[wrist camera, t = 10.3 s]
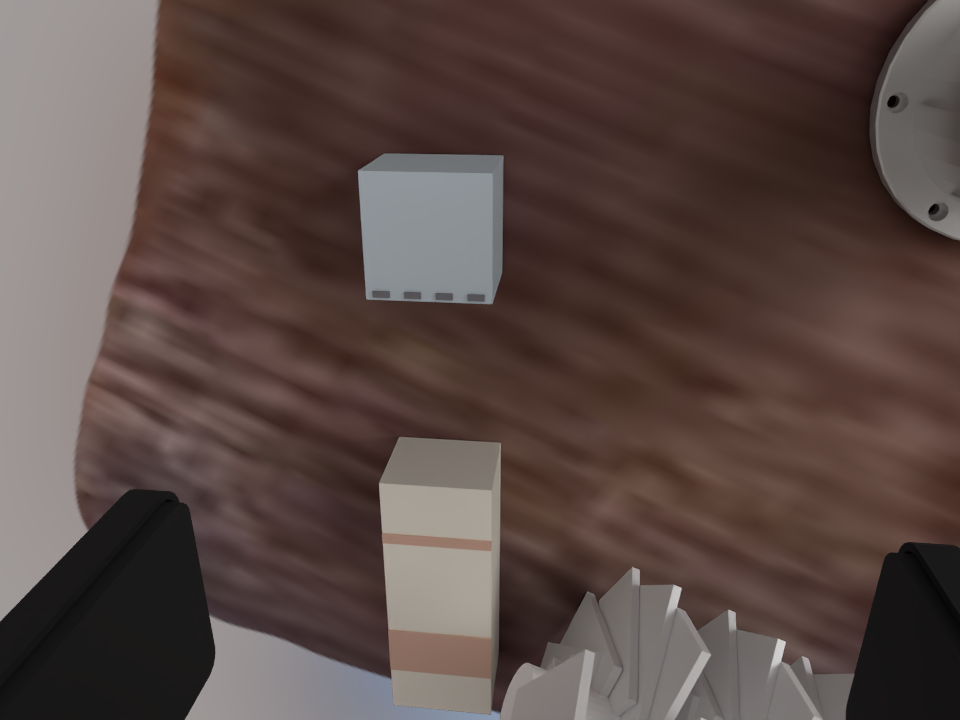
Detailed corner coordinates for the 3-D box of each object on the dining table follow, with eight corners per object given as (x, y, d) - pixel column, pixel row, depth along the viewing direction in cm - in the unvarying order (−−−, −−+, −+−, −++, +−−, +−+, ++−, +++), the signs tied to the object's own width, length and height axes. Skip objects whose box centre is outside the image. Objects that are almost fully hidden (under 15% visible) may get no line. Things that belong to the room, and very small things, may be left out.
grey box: (503, 155, 38) (492, 173, 33) (502, 272, 40) (492, 304, 35) (384, 153, 38) (357, 171, 34) (390, 268, 41) (365, 300, 36)
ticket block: (500, 442, 44) (491, 491, 40) (498, 652, 51) (490, 715, 46) (399, 436, 45) (378, 484, 40) (409, 644, 51) (393, 706, 47)
